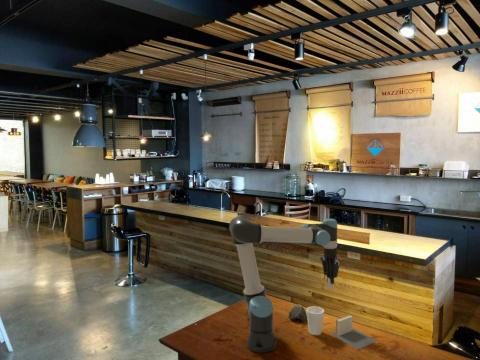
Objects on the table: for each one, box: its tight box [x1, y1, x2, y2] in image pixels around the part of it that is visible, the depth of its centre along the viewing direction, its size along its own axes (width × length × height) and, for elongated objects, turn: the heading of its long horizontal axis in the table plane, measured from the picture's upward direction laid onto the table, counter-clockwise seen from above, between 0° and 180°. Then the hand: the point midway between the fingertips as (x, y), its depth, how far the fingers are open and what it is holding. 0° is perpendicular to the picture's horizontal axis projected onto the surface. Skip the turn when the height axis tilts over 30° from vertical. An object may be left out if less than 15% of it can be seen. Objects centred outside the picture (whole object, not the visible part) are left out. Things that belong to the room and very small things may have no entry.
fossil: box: [288, 303, 308, 322], centre depth 219 cm, size 11×9×10 cm
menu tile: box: [335, 314, 354, 336], centre depth 200 cm, size 10×2×8 cm, turn 121°
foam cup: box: [305, 306, 325, 336], centre depth 200 cm, size 10×9×13 cm
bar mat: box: [330, 327, 378, 350], centre depth 195 cm, size 15×18×1 cm
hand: (330, 288), depth 207 cm, fingers closed
